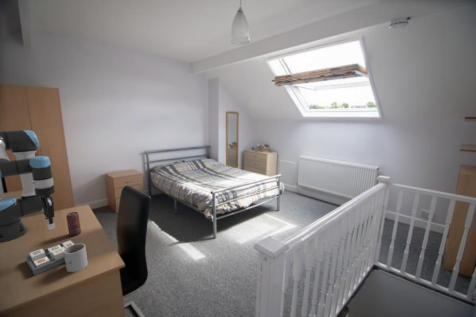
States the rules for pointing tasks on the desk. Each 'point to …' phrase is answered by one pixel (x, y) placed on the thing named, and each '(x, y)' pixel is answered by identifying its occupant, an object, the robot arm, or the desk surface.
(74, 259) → the mug
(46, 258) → the key rust
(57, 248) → the key olive
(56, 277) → the desk surface
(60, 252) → the key sand
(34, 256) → the key slate
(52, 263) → the keypad
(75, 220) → the can
